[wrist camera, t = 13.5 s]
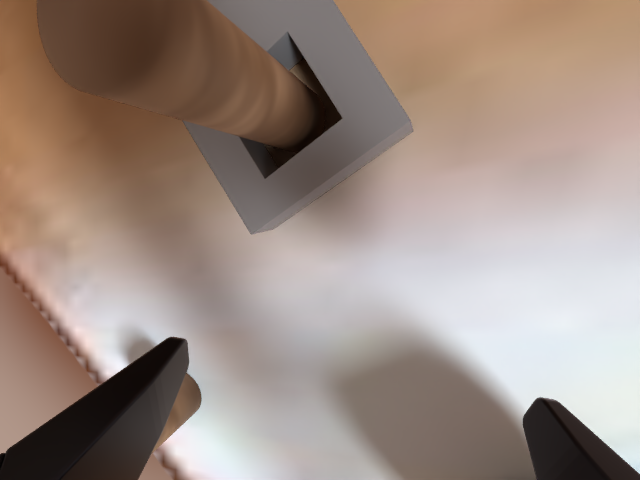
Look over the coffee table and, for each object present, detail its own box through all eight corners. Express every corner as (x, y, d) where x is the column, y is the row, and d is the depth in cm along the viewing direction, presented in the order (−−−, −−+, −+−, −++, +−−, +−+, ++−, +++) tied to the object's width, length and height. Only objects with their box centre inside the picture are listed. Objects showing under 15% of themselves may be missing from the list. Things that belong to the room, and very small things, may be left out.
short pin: (204, 417, 27) (157, 464, 22) (167, 411, 28) (115, 455, 24) (197, 372, 27) (148, 410, 22) (159, 369, 28) (105, 404, 23)
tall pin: (312, 160, 21) (133, 113, 8) (261, 139, 22) (29, 69, 9) (334, 98, 20) (168, -67, 7) (279, 79, 21) (47, -95, 8)
